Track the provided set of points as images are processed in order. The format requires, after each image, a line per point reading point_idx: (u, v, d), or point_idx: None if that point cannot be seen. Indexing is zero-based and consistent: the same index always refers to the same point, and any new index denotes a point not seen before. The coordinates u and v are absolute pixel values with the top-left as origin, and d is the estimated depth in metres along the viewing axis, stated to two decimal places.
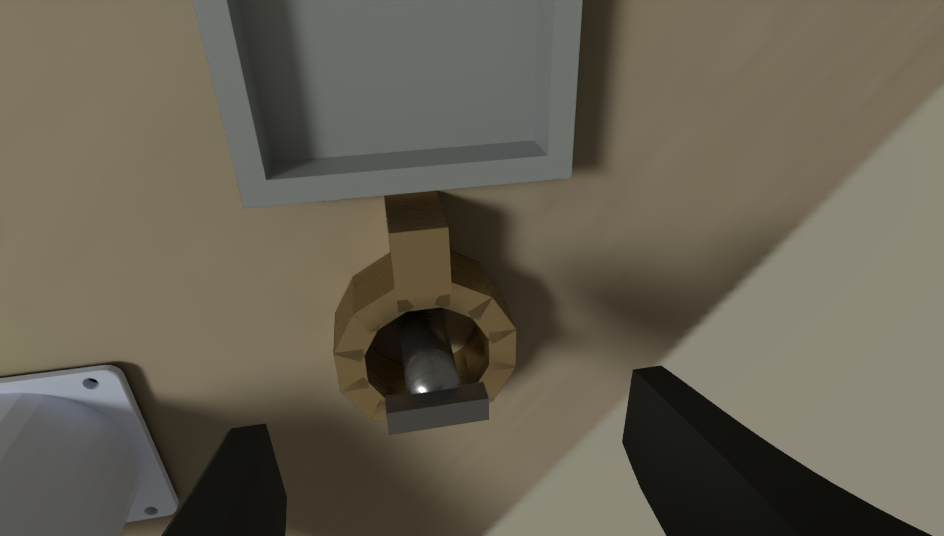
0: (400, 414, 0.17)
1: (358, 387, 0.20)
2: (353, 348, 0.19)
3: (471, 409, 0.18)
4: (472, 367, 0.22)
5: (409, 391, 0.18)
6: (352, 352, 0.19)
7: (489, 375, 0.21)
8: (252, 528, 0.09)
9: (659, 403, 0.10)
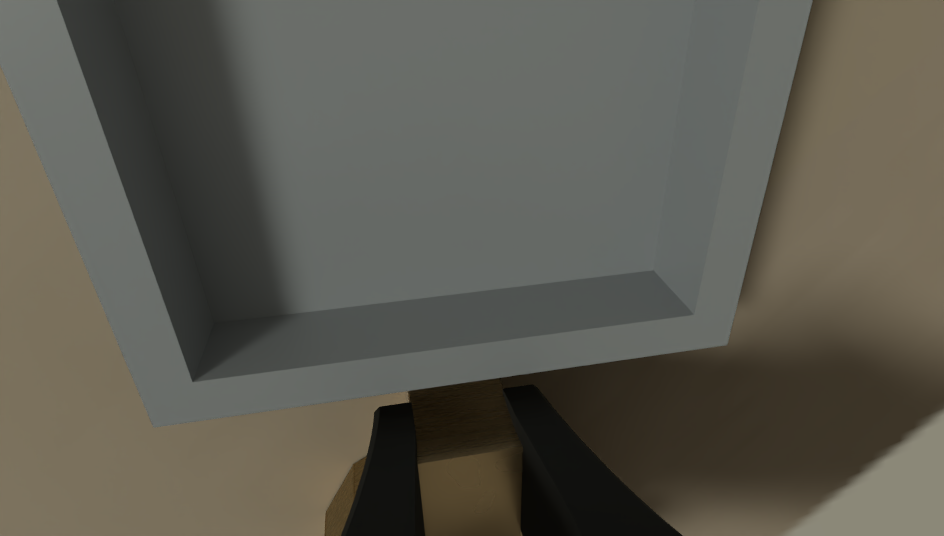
0: None
1: None
2: None
3: None
4: None
5: None
6: None
7: None
8: (418, 500, 0.09)
9: (517, 425, 0.10)
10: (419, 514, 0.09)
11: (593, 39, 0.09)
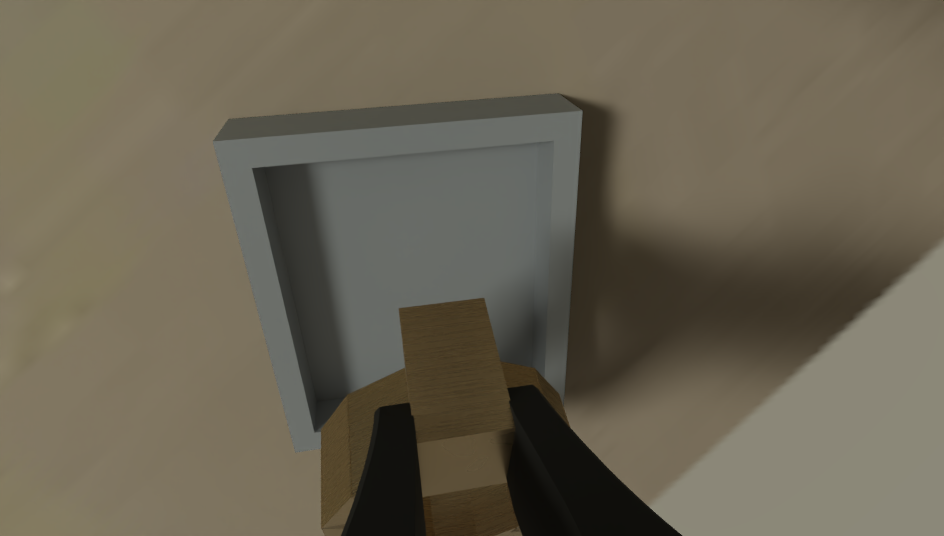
0: None
1: None
2: None
3: None
4: None
5: None
6: None
7: None
8: (418, 499, 0.09)
9: (516, 425, 0.10)
10: (419, 514, 0.09)
11: (490, 279, 0.20)
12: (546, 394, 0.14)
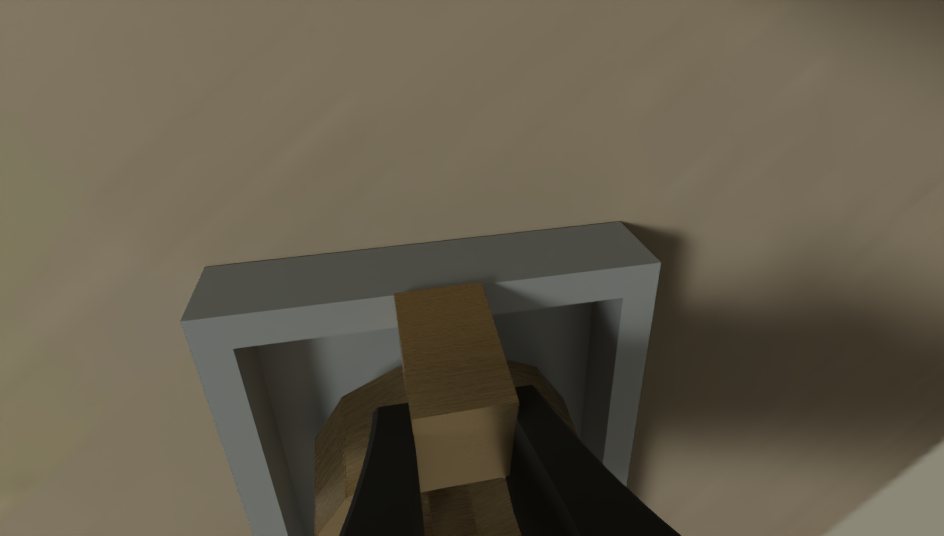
0: None
1: None
2: None
3: None
4: None
5: None
6: None
7: None
8: (417, 500, 0.09)
9: (516, 425, 0.10)
10: (417, 514, 0.09)
11: None
12: (549, 393, 0.14)
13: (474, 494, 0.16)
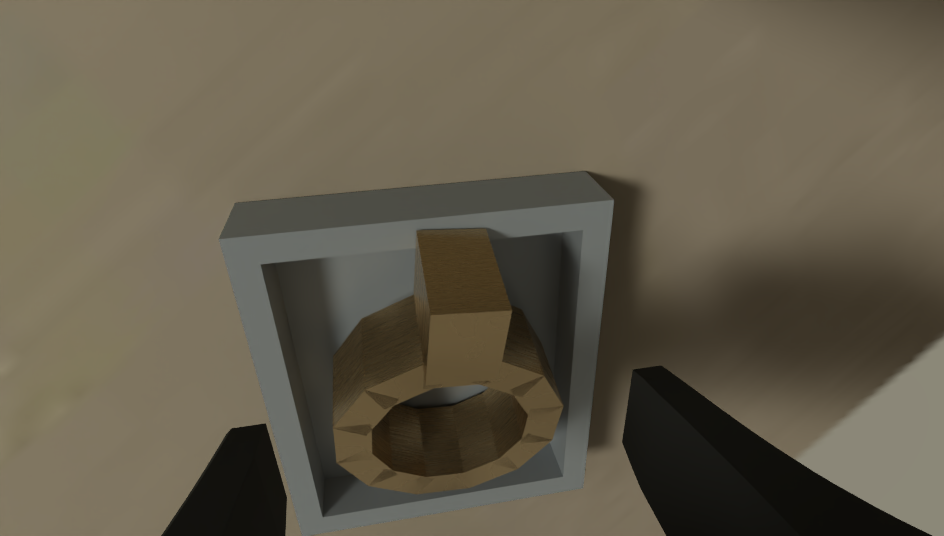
0: None
1: (359, 458, 0.16)
2: (359, 423, 0.15)
3: None
4: (496, 428, 0.18)
5: None
6: (357, 426, 0.15)
7: (519, 447, 0.17)
8: (252, 528, 0.09)
9: (659, 403, 0.10)
10: None
11: None
12: (530, 331, 0.17)
13: (459, 421, 0.19)
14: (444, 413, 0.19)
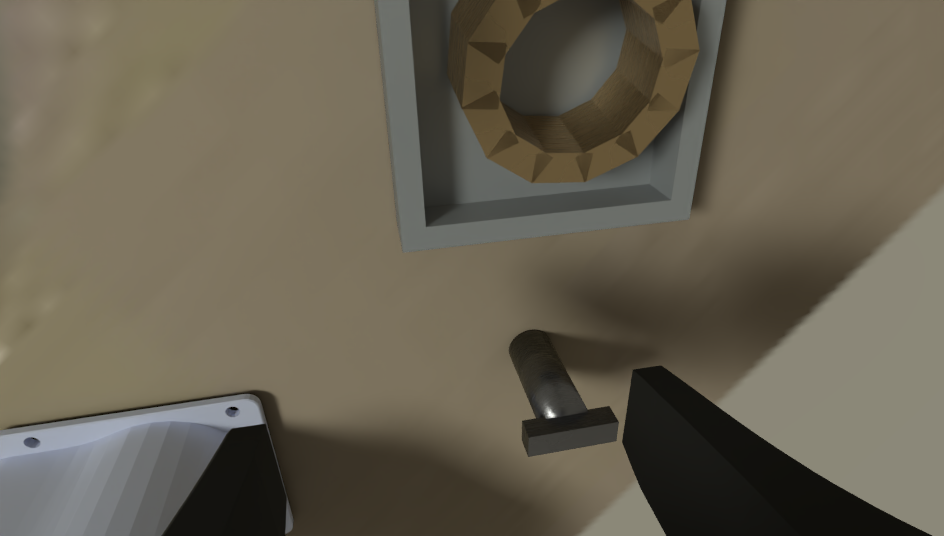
0: (540, 437, 0.19)
1: (485, 105, 0.15)
2: (495, 38, 0.14)
3: (602, 432, 0.20)
4: (614, 113, 0.17)
5: (543, 416, 0.20)
6: (492, 45, 0.14)
7: (645, 117, 0.16)
8: (252, 528, 0.09)
9: (659, 403, 0.10)
10: None
11: (618, 58, 0.18)
12: None
13: (569, 123, 0.18)
14: (551, 119, 0.18)
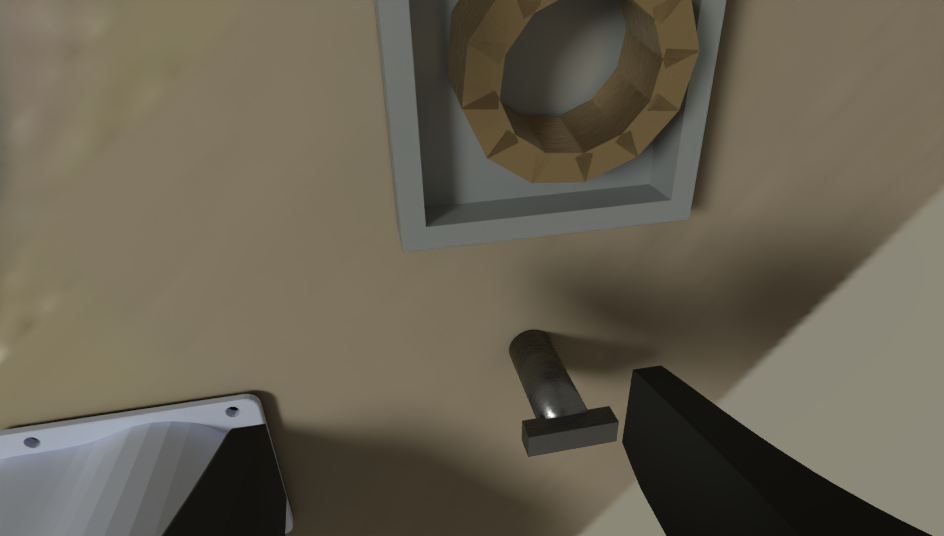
0: (540, 437, 0.19)
1: (485, 105, 0.15)
2: (495, 38, 0.14)
3: (602, 432, 0.20)
4: (614, 113, 0.17)
5: (543, 416, 0.20)
6: (492, 45, 0.14)
7: (645, 117, 0.16)
8: (252, 528, 0.09)
9: (659, 403, 0.10)
10: None
11: (618, 58, 0.18)
12: None
13: (569, 122, 0.18)
14: (551, 119, 0.18)
